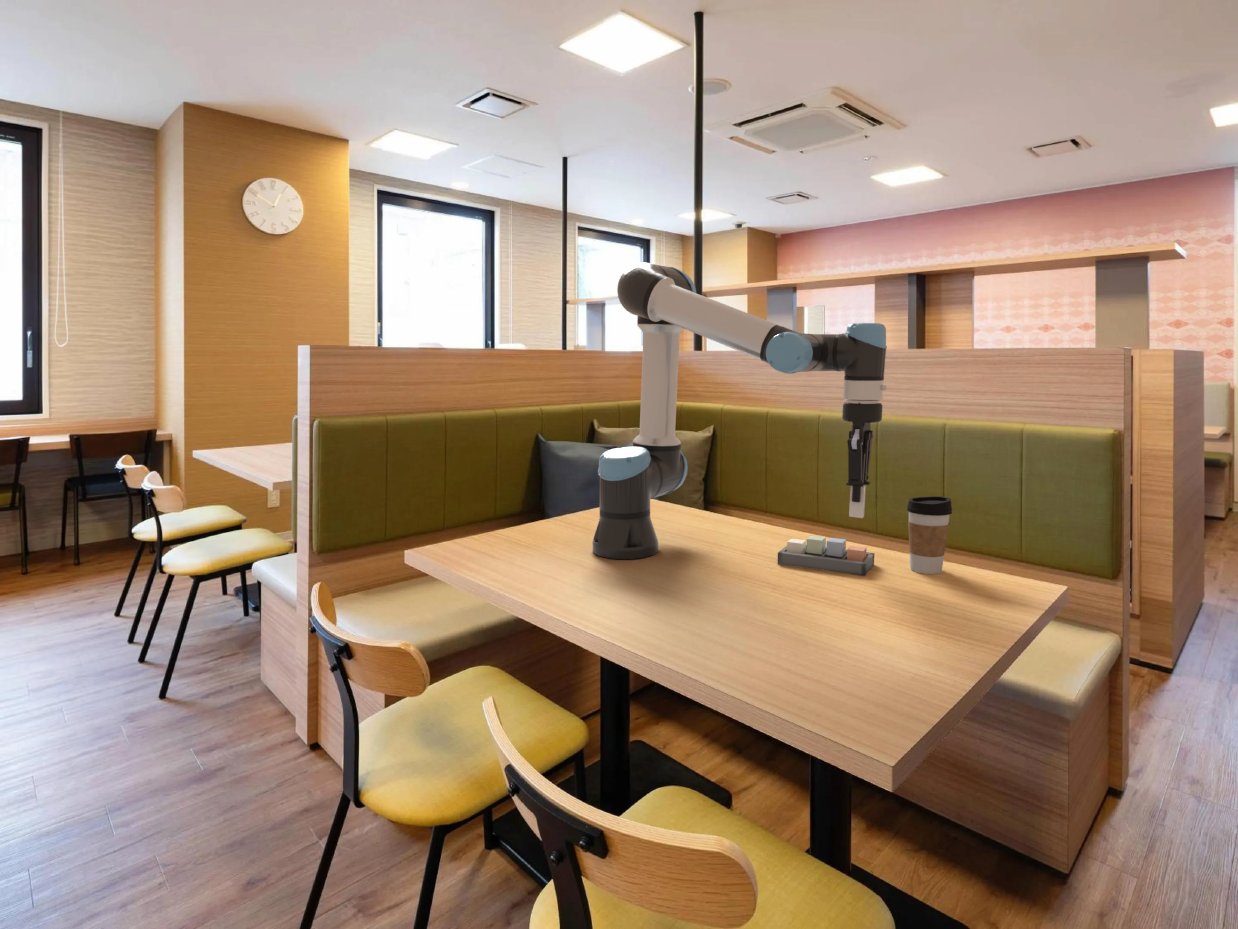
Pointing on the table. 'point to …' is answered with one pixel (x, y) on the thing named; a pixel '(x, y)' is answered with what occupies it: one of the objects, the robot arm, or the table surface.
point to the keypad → (826, 562)
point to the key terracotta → (856, 553)
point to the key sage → (816, 544)
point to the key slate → (836, 547)
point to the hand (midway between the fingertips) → (856, 516)
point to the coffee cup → (928, 532)
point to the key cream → (796, 546)
